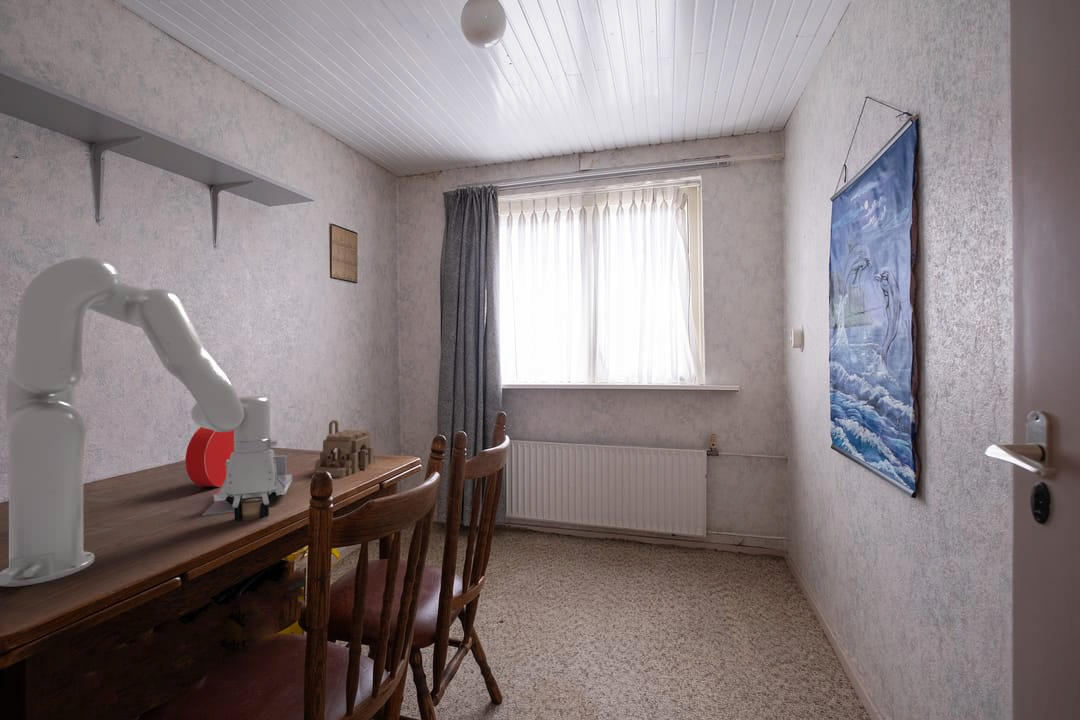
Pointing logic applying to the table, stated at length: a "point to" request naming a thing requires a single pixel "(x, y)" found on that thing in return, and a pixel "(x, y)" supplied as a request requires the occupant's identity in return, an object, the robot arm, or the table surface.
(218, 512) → the scale base
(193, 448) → the red thick disc
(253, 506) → the tan cylinder
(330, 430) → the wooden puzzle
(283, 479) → the pan
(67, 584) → the table surface
